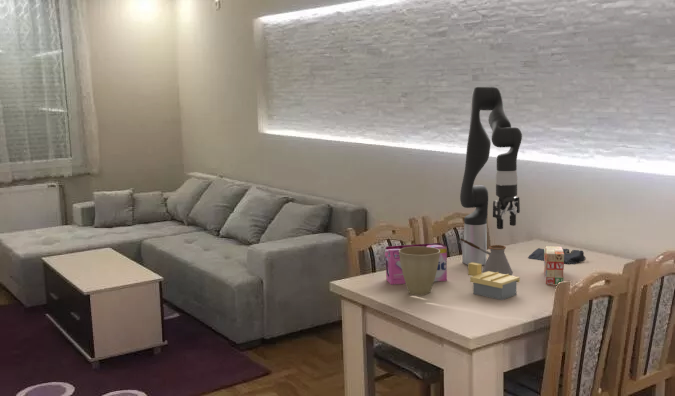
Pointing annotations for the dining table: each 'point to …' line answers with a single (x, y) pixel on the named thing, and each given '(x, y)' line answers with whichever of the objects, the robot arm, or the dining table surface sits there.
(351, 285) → the dining table surface
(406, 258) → the plant pot
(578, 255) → the dark crumpled cloth
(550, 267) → the stack of blocks
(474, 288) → the tub
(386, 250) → the gum box
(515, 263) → the dining table surface
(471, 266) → the lid
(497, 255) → the coffee pot
